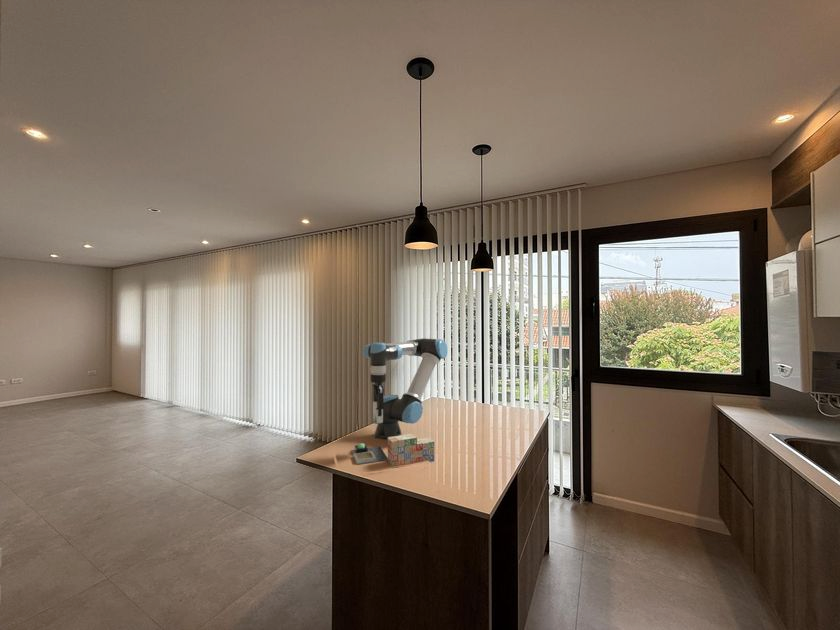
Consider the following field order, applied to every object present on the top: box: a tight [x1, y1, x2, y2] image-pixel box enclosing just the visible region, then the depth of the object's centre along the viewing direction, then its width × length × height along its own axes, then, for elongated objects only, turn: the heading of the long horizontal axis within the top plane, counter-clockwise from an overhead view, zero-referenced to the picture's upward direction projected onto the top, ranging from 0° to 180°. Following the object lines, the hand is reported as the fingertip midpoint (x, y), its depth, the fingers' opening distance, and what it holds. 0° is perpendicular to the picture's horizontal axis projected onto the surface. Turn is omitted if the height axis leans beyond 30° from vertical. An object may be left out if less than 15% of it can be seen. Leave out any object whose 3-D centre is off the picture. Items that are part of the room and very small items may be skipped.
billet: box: [372, 401, 383, 425], centre depth 168 cm, size 5×5×10 cm
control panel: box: [350, 443, 388, 466], centre depth 163 cm, size 15×19×4 cm
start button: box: [356, 443, 366, 449], centre depth 167 cm, size 4×4×3 cm
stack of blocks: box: [386, 433, 436, 469], centre depth 158 cm, size 21×6×12 cm, turn 113°
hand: (378, 420), depth 168 cm, fingers closed on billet, 5 cm apart
